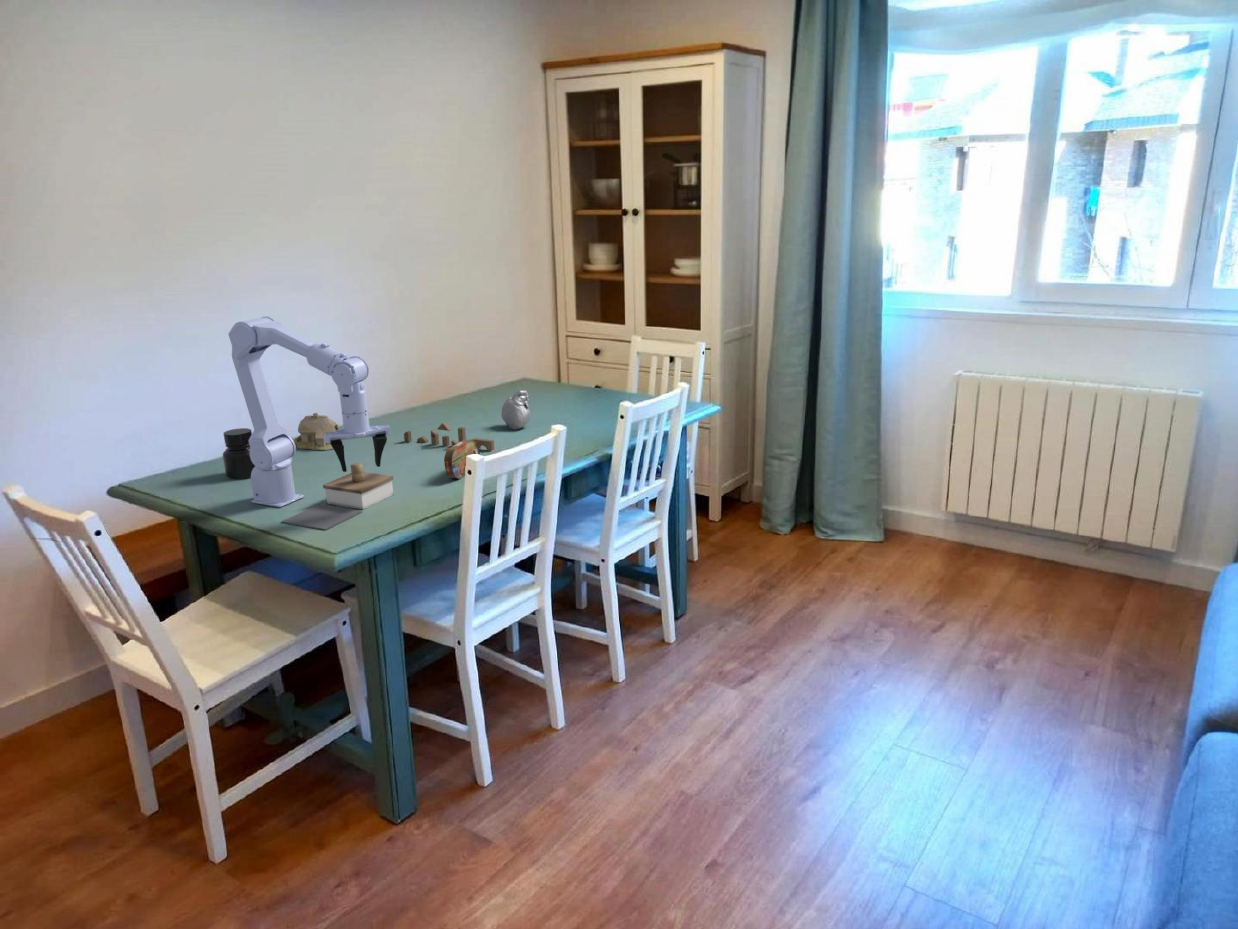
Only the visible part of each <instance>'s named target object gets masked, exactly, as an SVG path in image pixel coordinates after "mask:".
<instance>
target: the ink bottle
mask: <svg viewBox="0 0 1238 929" xmlns="http://www.w3.org/2000/svg"><path fill="white" fill-rule="evenodd" d="M252 433H253V432H252V429H251V428H242V427H241V428H234V429H229V430H226V431H224V432H223V434H222V435H223V438H224V444H225V447H226V449H225V450H224V451H223V452H222V458H223V464H224V465H223V466H224V470H225V477H226V478H228V479H230V480H244V479H245V480H246V479H251V472H252V470H253V468H254V467H255V465H254V464H253V463H252V461H251V459H250V445H249V439H250V437H251V435H252Z"/></svg>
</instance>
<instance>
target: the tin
mask: <svg viewBox="0 0 1238 929" xmlns="http://www.w3.org/2000/svg"><path fill="white" fill-rule="evenodd" d="M480 452H481V449H479V446H478V444H477V442H476V441H475V440H474V438H471V439H466V440H462V441H461V442H459V441H458V443H457V444H456V445H454V446H452V445H451V446H450V447H449V448H448V449H447V450H446V452H445V454H444V457H443V458H444V460H443V462H444V469H445V474H446V476H448V477H449V478H450V479H458V480H461V479H463V478H465V477H464V475H465V466H466V456H467V455H468V454H481V453H480Z"/></svg>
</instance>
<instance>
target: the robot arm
mask: <svg viewBox="0 0 1238 929" xmlns="http://www.w3.org/2000/svg"><path fill="white" fill-rule="evenodd" d="M228 337H229V340H230V341H229V342H230V344H231V357H232V362H233V366H234V368H235V372H236V376H237V377H238V378H237V379H238V382H239V385H240V389H241V391H242V395H243V398H244V402H245V404H246V407H247V410H248V411H247V412H248V414H249V418H250V420H251V423H252V427H253V432H252V435H251V437H250V439H249V445H250V459H251V461H252V463H253V464H254V465H255V467H254V468H253V470H252V472H251V478H250V481H251V482H250V483H251V489H252V494H253V499H252V500H251V503H252V504H259V505H264V506H270V507H277V508H281V507H285V506H288V505H289V504H291V503H294V502H296V501H298V500H300V499H302V498H304V497H305V496H304V494H299V493H296V490H295V489H296V488H295V482H294V474H293V469H292V468H293V467H292V463H293V458H294V456H295V454H296V452H297V451H296V450H297V447H296V446H295V443H294V440H293V439H292V437H291V436H290V434H289V432H288V429H287V428H286V427H284V426H282V425H281V424H280V423H279V422H278V419H277V415H276V411H275V408H274V406H273V402H272V399H271V396H270V392H269V389H268V385H267V382H266V379H265V375H264V373H263V369H262V365H261V362H260V359H261V357H262V356H263V354H264V352H266V350H267V349H268V348H270V347H271V346H272V345H277V346H280V347H282V348H284V349H286V350H288V351H291V352H293V353H296V354H297V355H300V356H302V357H305V358H306V362H307V364H308V365H309V366H311V367H313V368H314V369H316V370H318V371H321V372H322V373H324V374H326V375H328V376H330V377H331V378H332V380H333V382H334V384H335V385H336V387H337V392H339V393H338V394H339V399H340V401H339V402H340V406H341V407H340V408H341V417H342V418H341V419H342V426H343V428H342V429H339V430H336V431H334V432H329V433H324V441H325V443H330V444H331V446H332V447H333V449H332V450H334V452H335V455H336V456H337V459H338V461H339V464H340V467H341V470H342V472H343V473H345V472H347V471H348V470H347V464H346V459H345V446H344V444H343V441H348V440H355V439H362V438H370V437H372V443H373V449H374V462H375V466H376V467H378V468H379V467H381V464H382V462H381V461H382V456H383V455H382V454H383V452H384V449H385V445H386V444H387V441H388V438H387V436H388V435H390V436H391V427H390V426H389V424H385V425H384V424H383V425H370V420H369V419H370V418H369V409H368V401H367V400H368V399H367V391H366V390H367V388H366V382H365V380H366V379H367V378H368V376H369V374H370V373H369V370H370V369H369V366H368V363H367V362H366V361H365V360H364V359H363V358H361V356H357V355H353V356H348V354H347V353H345V352H340V351H339V350H336V349H334V348H332V347H331V344H330V343H328V342H317V343H316V342H315V344H314V343H312V342H310V341H309V340H307V339H305V338H304V337H302V336H301V335H299V334H297V333H296V332H294V331H292V330H291V329H289V328H287V327H286V326H284V325H283V323H282V322H281V321H280V320H277V319H274V318H273V317H271V316H264V315H263V316H262V317H259V318H254V319H249V320H244V321H238V322H235V323H234V325H233V326H232V327H231V329H230V330H229V331H228ZM341 440H342V441H341Z"/></svg>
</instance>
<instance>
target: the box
mask: <svg viewBox="0 0 1238 929" xmlns="http://www.w3.org/2000/svg"><path fill="white" fill-rule="evenodd" d="M393 495H394V488H393V480H391V481H389V482H387V483H384V484H382V485H380V486H378V487H376V488H374V489H372V490H369V491H367V492H365V493H363V494H357V493H351V492H344V491H338V490H331V489H325V497H326V503H327V504H328V505H331V506H337V507H338V506H339V507H343V508H349V509H355V510H356V509H357V510H361V511H363V510H366V509H368V508H370V507H372V506H374V505H376V504H378V503H380V502H382V501H385V500H386V499H388V498H390V497H392V496H393ZM327 504H326V505H327Z"/></svg>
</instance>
